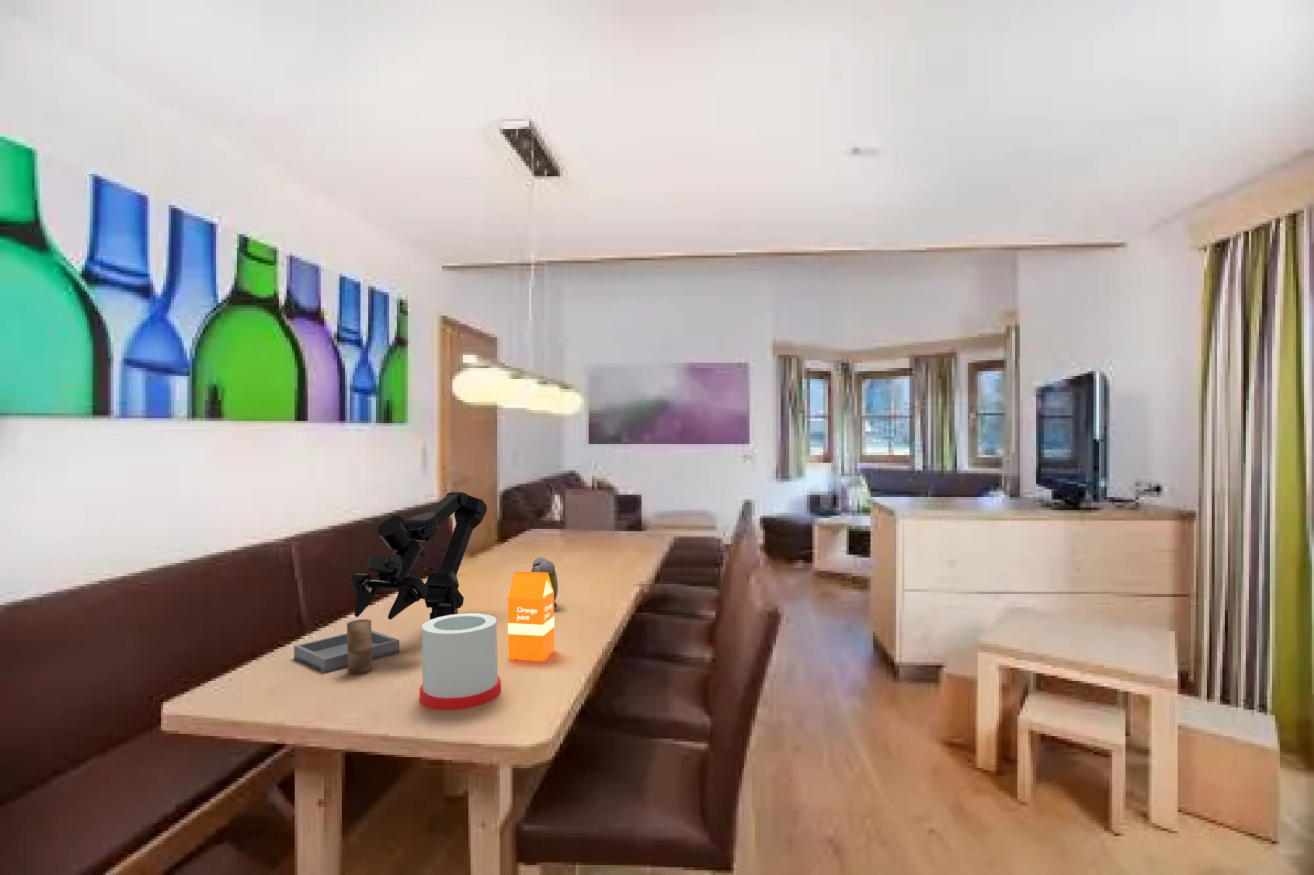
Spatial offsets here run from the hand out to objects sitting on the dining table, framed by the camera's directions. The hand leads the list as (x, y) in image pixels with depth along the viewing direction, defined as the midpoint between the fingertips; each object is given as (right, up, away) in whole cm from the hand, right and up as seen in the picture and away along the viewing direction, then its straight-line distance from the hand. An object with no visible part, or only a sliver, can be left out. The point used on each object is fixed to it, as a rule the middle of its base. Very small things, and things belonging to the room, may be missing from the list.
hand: (372, 617), depth 157 cm
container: (+26, -11, -18) cm, 33 cm away
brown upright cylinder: (-1, -11, -4) cm, 12 cm away
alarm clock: (+32, -10, +50) cm, 60 cm away
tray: (-9, -11, +7) cm, 16 cm away
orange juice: (+36, -11, +6) cm, 38 cm away
